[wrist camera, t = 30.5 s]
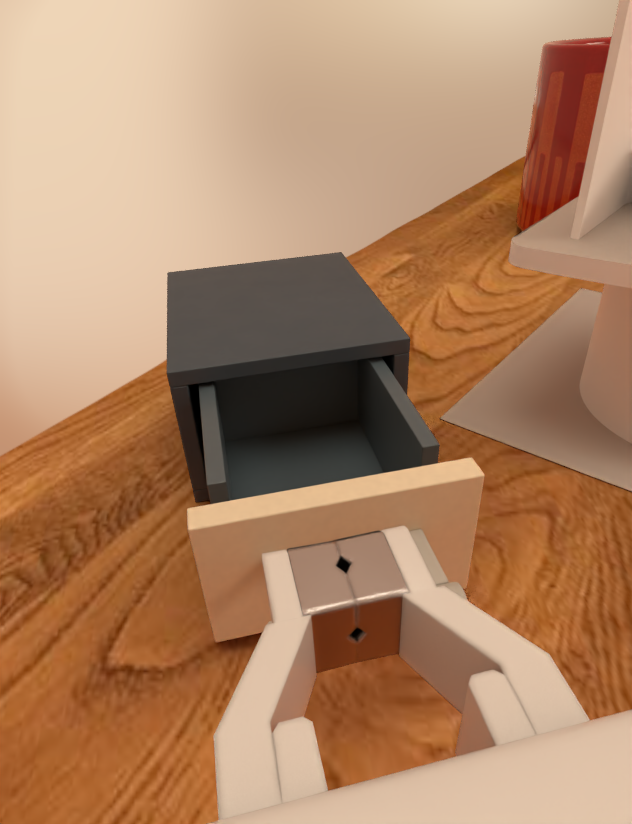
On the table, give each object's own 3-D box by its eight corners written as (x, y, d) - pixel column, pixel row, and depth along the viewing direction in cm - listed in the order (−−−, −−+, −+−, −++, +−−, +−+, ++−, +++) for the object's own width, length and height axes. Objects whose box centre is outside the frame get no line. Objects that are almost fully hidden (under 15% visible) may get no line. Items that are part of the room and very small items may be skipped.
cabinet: (403, 465, 35) (410, 337, 30) (195, 502, 33) (166, 372, 28) (343, 355, 47) (341, 251, 42) (188, 378, 45) (167, 272, 40)
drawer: (512, 672, 23) (543, 554, 19) (222, 743, 21) (190, 629, 17) (378, 424, 37) (380, 329, 33) (200, 453, 35) (180, 356, 31)
